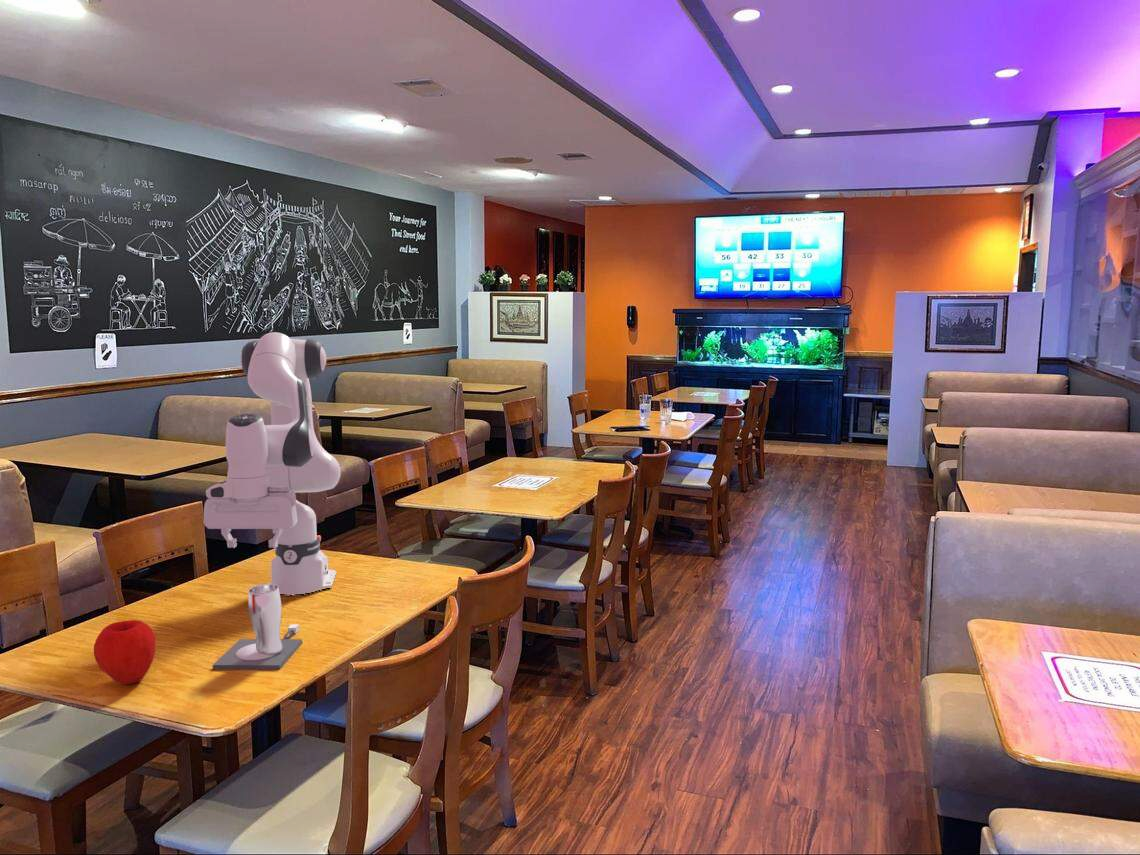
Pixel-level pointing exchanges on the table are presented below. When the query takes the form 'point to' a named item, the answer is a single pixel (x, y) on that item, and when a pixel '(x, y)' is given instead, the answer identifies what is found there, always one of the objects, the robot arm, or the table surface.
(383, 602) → the table surface
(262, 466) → the robot arm
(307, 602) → the table surface
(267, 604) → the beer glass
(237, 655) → the charging dock
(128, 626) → the apple
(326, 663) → the table surface
